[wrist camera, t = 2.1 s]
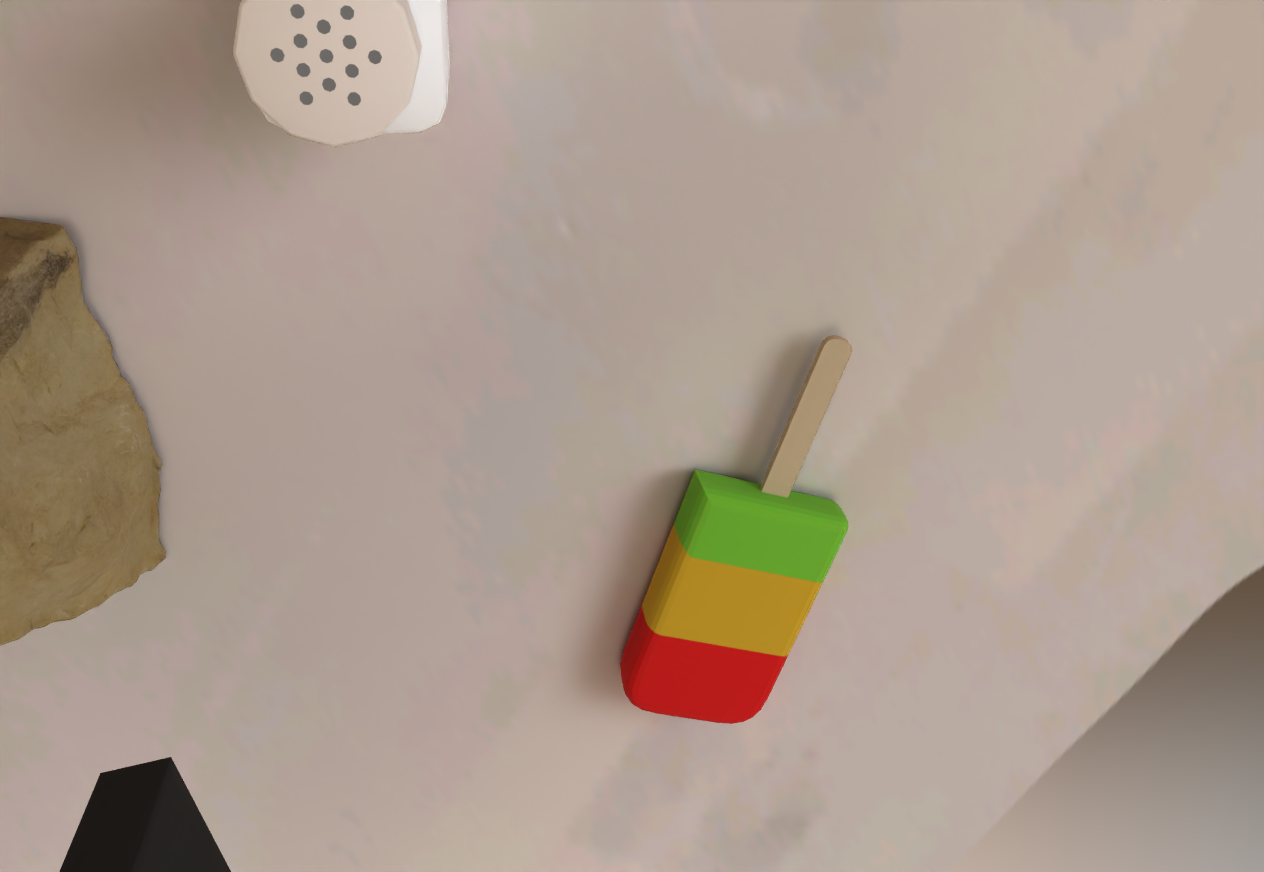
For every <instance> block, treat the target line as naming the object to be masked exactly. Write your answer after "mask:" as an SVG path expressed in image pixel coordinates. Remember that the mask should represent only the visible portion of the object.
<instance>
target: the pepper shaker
mask: <svg viewBox="0 0 1264 872" xmlns="http://www.w3.org/2000/svg"><path fill="white" fill-rule="evenodd" d="M233 56H234V58H235V61H236V63H237V66H238V68H239V71H240V73H241V76H242V78H243V81H244V84H245V86H246V89H247V91H248V94H249V96H250V99H251V101H252V102H253V103H254V104H255V105H256V106H257V107H258V108H260V110H261V111H262V113H263V114H264V116H265V118H266V119H267V121H268V122H270V123H272V124H275V125H277V126H279V127H281V128H282V129H283V130H284V131H285V132H286V133H287V134H289V135H291V136H295V137H299V138H302V139H306V140H310V141H314V142H317V143H321V144H325V145H329V146H332V147H339V146H342V145H346V144H350V143H354V142H358V141H361V140H365V139H369V138H373V137H377V136H379V135H380V134H386V133H414V132H422V131H424V130H426V129H428V128H431V127H433V126H435V125H437V124H439V123H440V121H441V119H442V116H443V113H444V111H445V108H446V106H447V97H448V85H449V72H450V67H449V42H448V17H447V0H241V3H240V4H239V10H238V18H237V25H236V33H235V40H234V48H233Z"/></svg>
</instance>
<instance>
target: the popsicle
mask: <svg viewBox="0 0 1264 872" xmlns="http://www.w3.org/2000/svg"><path fill="white" fill-rule="evenodd" d="M851 352H852V346H851V344H850V343H849V342H848V341H847V340H846V339H844V338H842V337H838V336H829V337H827V338H825V339H824V340H823V341H822V343H821V345H820V347H819V350H818V352H817V354H816V357H815V359H814V361H813V364H812V366H811V368H810V371H809V373H808V375H807V378H806V380H805V382H804V385H803V387H802V389H801V392H800V394H799V397H798V399H797V401H796V404H795V406H794V408H793V411H792V413H791V415H790V418H789V420H788V422H787V425H786V427H785V429H784V432H783V434H782V436H781V439H780V441H779V443H778V446H777V448H776V450H775V453H774V455H773V457H772V460H771V462H770V465H769V467H768V469H767V472H766V474H765V476H764V479H763V481H762V483H761V484H759V483H754V482H750V481H745V480H741V479H736V478H732V477H727V476H723V475H718V474H714V473H709V472H705V471H701V470H696V469H695V471H694V474H693V476H692V479H691V481H690V484H689V486H688V489H687V492H686V494H685V497H684V499H683V502H682V504H681V507H680V509H679V512H678V514H677V517H676V519H675V522H674V525H673V527H672V530H671V532H670V535H669V537H668V540H667V542H666V545H665V547H664V550H663V552H662V555H661V558H660V560H659V563H658V565H657V568H656V570H655V573H654V575H653V578H652V580H651V583H650V586H649V588H648V591H647V593H646V596H645V598H644V601H643V603H642V606H641V608H640V611H639V613H638V616H637V619H636V621H635V624H634V626H633V629H632V631H631V634H630V636H629V639H628V641H627V644H626V647H625V649H624V652H623V655H622V659H621V663H620V668H621V677H622V683H623V688H624V691H625V694H626V696H627V697H628V699H629V700H630V701H631V703H632V704H633V705H635V706H637V707H638V708H640V709H642V710H645V711H649V712H653V713H658V714H664V715H671V716H678V717H684V718H691V719H697V720H704V721H710V722H717V723H731V724H732V723H738V722H744V721H746V720H748V719H750V718H752V717H753V716H754V715H755V714H756V713H758V712H759V711H760V710H761V708H762V707H763V705H764V703H765V702H766V700H767V698H768V696H769V694H770V692H771V690H772V688H773V686H774V684H775V682H776V680H777V677H778V675H779V673H780V671H781V669H782V667H783V665H784V663H785V661H786V658H787V656H788V654H789V652H790V650H791V648H792V646H793V644H794V642H795V640H796V637H797V635H798V633H799V631H800V629H801V627H802V625H803V623H804V621H805V619H806V616H807V614H808V612H809V610H810V608H811V606H812V604H813V602H814V600H815V598H816V595H817V593H818V591H819V589H820V587H821V585H822V583H823V581H824V579H825V576H826V574H827V572H828V570H829V568H830V566H831V564H832V562H833V560H834V558H835V555H836V553H837V551H838V549H839V547H840V545H841V543H842V541H843V539H844V536H845V534H846V532H847V529H848V521H847V518H846V516H845V515H844V513H843V511H842V510H841V508H840V507H839V506H838V504H837V503H835V502H834V501H832V500H829V499H826V498H821V497H817V496H812V495H808V494H803V493H799V492H794V491H791V489H792V487H793V485H794V483H795V480H796V478H797V476H798V473H799V471H800V469H801V467H802V464H803V462H804V460H805V458H806V455H807V453H808V451H809V449H810V446H811V444H812V442H813V439H814V437H815V435H816V433H817V430H818V428H819V426H820V424H821V421H822V419H823V417H824V415H825V412H826V410H827V408H828V405H829V403H830V401H831V399H832V396H833V394H834V392H835V390H836V387H837V385H838V383H839V381H840V378H841V376H842V374H843V371H844V369H845V367H846V365H847V362H848V360H849V358H850V356H851Z"/></svg>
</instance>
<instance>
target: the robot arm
mask: <svg viewBox="0 0 1264 872" xmlns="http://www.w3.org/2000/svg"><path fill="white" fill-rule="evenodd" d="M60 872H231V871H230V869H229V867H228V865H227V863H226V861H225V859H224V857H223V855H222V854H221V852H220V850H219V848H218V846H217V844H216V842H215V840H214V838H213V836H212V834H211V833H210V831H209V829H208V827H207V825H206V823H205V821H204V819H203V817H202V815H201V813H200V812H199V810H198V808H197V806H196V804H195V802H194V800H193V798H192V796H191V794H190V792H189V791H188V789H187V787H186V785H185V783H184V781H183V779H182V777H181V775H180V773H179V771H178V770H177V768H176V766H175V764H174V762H173V760H172V758H171V757H169V758H165V759H160V760H156V761H152V762H147V763H143V764H139V765H134V766H130V767H125V768H121V769H117V770H112V771H108V772H103V773H100V776H99V778H98V780H97V783H96V785H95V788H94V790H93V792H92V795H91V797H90V800H89V802H88V804H87V807H86V809H85V812H84V814H83V816H82V819H81V821H80V824H79V826H78V828H77V831H76V833H75V836H74V838H73V840H72V843H71V845H70V848H69V850H68V852H67V855H66V857H65V860H64V862H63V864H62V867H61V869H60Z"/></svg>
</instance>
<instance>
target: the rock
mask: <svg viewBox="0 0 1264 872" xmlns="http://www.w3.org/2000/svg"><path fill="white" fill-rule="evenodd" d="M161 467H162V463H161V460H160V458H159V457H158V455H157V453H156V451H155V449H154V447H153V444H152V441H151V438H150V435H149V429H148V427H147V420H146V417H145V414H144V412H143V409H141V408H140V407H139V406H138V404H137V402H136V399H135V397H134V394H133V391H132V389H131V387H130V385H129V383H128V382H127V381H126V380H125V379H124V378H123V377H122V376H121V375H120V372H119V369H118V366H117V364H116V362H115V361H114V359H113V357H112V346H111V344H110V342H109V340H108V339H107V337H106V335H105V333H104V331H103V329H102V328H101V326H100V325H99V323H98V322H97V321H96V320H95V319H94V318H93V317H92V315H91V314H90V312H89V310H88V308H87V306H86V305H85V303H84V301H83V299H82V283H81V278H80V273H79V258H78V255H77V251H76V247H75V246H74V245H73V244H72V242H71V240H70V238H69V236H68V233H67V231H66V229H65V228H64V227H63V226H61V225H56V224H50V223H39V222H26V221H21V220H15V219H8V218H0V645H3V644H6V643H9V642H11V641H15V640H18V639H20V638H21V637H23V636H24V635H26V634H27V633H28V632H30V631H31V630H33V629H36V628H41V627H44V626H47V625H48V624H50V623H52V622H57V621H65V620H71V619H74V618H76V617H78V616H79V615H81V614H83V613H84V612H86V611H88V610H89V609H92V608H94V607H97V606H99V605H100V604H102V603H103V602H104V601H106V600H107V599H108V598H109V597H111V596H112V595H113V594H114V593H116V592H119V591H121V590H123V589H125V588H127V587H130V586H132V585H133V584H134V583H135V582H136V581H137V580H138V578H139V575H140V574H142V573H144V572H145V571H151V570H153V569H154V568H155V567H156V566H157V565H158V564H159V563H160V562H162V561H163V560H164V559H165V558H166V552H165V550H164V548H163V547H162V546H161V544H160V541H159V538H158V532H159V512H158V500H159V495H160V481H159V473H158V471H159V469H161Z"/></svg>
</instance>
